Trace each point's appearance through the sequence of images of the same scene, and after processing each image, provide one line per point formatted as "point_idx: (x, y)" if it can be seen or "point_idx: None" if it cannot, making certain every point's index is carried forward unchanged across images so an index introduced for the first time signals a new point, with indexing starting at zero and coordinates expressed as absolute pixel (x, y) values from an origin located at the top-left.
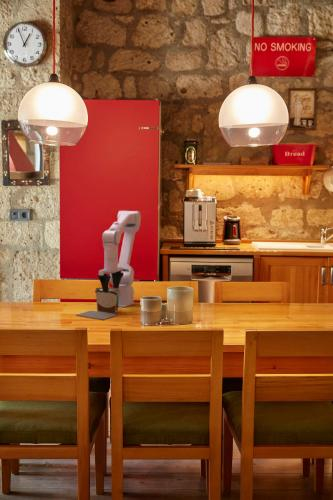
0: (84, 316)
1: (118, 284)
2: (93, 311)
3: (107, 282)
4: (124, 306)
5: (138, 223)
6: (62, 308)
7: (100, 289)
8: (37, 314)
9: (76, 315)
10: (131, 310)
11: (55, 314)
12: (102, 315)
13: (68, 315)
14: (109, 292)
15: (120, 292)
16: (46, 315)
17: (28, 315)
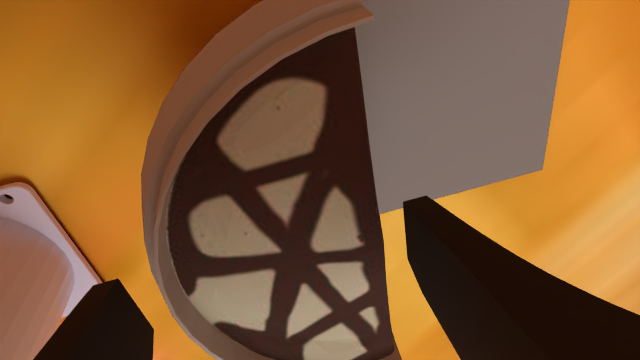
0: (552, 95)
1: (72, 348)
2: (384, 181)
3: (585, 297)
4: (11, 185)
5: None
6: (419, 343)
7: (343, 354)
8: (601, 295)
9: (539, 163)
10: (8, 18)
11: (563, 255)
12: (456, 8)
13: (552, 198)
14: (372, 182)
15: (196, 79)
16: (604, 259)
17: (636, 296)
